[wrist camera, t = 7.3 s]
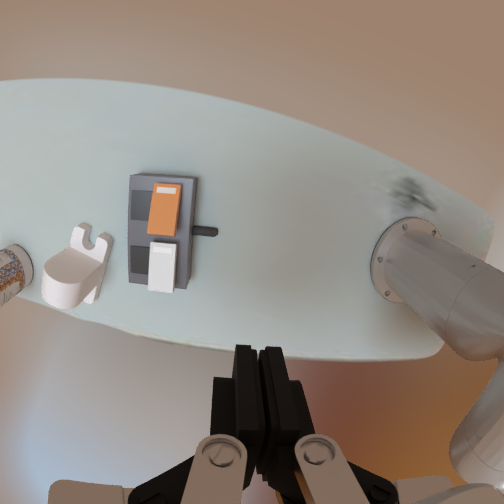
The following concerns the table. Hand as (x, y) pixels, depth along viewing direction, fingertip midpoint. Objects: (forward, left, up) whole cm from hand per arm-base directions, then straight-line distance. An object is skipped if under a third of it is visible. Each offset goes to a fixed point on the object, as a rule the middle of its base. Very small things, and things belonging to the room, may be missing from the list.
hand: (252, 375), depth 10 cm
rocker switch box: (+8, +1, -25) cm, 26 cm away
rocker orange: (+8, -2, -20) cm, 22 cm away
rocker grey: (+8, +4, -20) cm, 22 cm away
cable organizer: (+20, +7, -25) cm, 33 cm away
